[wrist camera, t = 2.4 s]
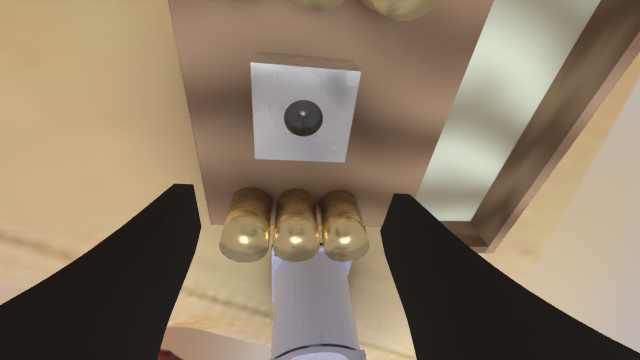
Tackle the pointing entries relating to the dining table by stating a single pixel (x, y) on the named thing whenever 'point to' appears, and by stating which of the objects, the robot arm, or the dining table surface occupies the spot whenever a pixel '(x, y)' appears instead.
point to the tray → (412, 100)
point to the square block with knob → (302, 106)
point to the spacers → (306, 193)
